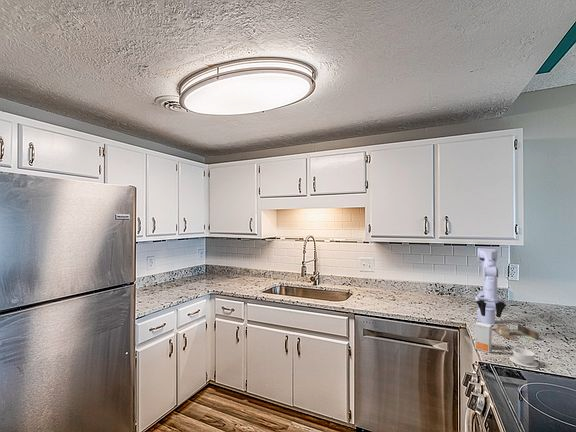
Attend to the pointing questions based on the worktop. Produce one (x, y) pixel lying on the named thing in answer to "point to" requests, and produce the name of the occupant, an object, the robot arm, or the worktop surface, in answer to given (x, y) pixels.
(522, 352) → the teacup
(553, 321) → the worktop surface
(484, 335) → the skincare box
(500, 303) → the robot arm
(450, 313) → the worktop surface
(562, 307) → the worktop surface
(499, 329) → the birch block
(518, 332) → the box
